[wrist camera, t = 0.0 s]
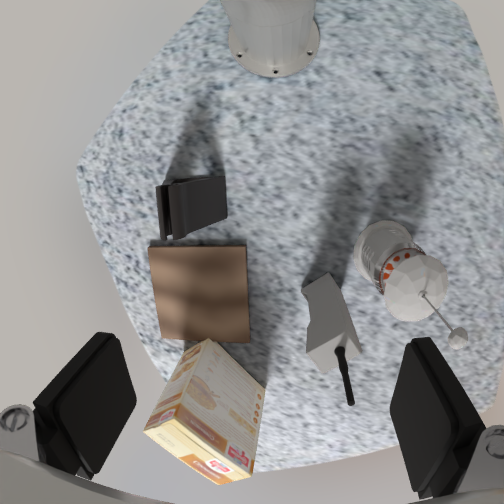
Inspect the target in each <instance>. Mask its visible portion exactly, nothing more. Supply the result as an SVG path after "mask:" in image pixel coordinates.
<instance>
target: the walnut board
mask: <svg viewBox="0 0 504 504" xmlns="http://www.w3.org/2000/svg"><path fill="white" fill-rule="evenodd" d="M148 256H149V263H150V270H151V277H152V284H153V290H154V297H155V303H156V309H157V314H158V320H159V326H160V331H161V336H162V338H166V339H179V340H194V341H204V340H206V339H208V338H209V339H210V340H212V341H213V342H235V343H250V325H249V303H248V280H247V256H246V245H190V246H149V247H148Z"/></svg>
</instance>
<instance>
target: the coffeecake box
mask: <svg viewBox="0 0 504 504" xmlns="http://www.w3.org/2000/svg"><path fill="white" fill-rule="evenodd" d="M264 397H265V389H264V388H263V387H262V386H261V385H260V384H259V383H258V382H257V381H256V380H255V379H254V378H253V377H251V376H250V375H249V374H248V373H247V372H246V371H245V370H244V369H243V368H242V367H241V366H240V365H239V364H238V363H237V362H236V361H235V360H234V359H233V358H232V357H231V356H230V355H229V354H228V353H227V352H226V351H225V350H224V349H223V348H222V347H221V346H220V345H219V344H218V343H217V342H213V341H212V340H210V339H209V338H208V339H206V340H204V341H201V342H199V343H198V344H196V345H194V346H193V347H191V348H189V349H188V350H186V351H185V352H183V355H182V357H181V359H180V361H179V362H178V364H177V366H176V368H175V370H174V372H173V374H172V376H171V378H170V380H169V381H168V383H167V385H166V387H165V389H164V391H163V393H162V395H161V397H160V399H159V401H158V403H157V405H156V407H155V409H154V410H153V412H152V414H151V416H150V418H149V420H148V422H147V424H146V427H145V428H144V430H143V432H144V433H145V434H147V435H148V436H149V437H151V438H152V439H153V440H154V441H155V442H157V443H158V444H159V445H161V446H162V447H163V448H165V449H166V450H167V451H169V452H170V453H171V454H173V455H174V456H176V457H177V458H178V459H180V460H181V461H182V462H184V463H186V464H187V465H188V466H190V467H191V468H193V469H194V470H196V471H197V472H199V473H200V474H202V475H203V476H205V477H206V478H208V479H209V480H211V481H213V482H214V483H216V484H217V485H220V484H225V483H229V482H232V481H236V480H241V479H245V478H248V477H251V476H252V473H253V467H254V461H255V455H256V449H257V443H258V436H259V430H260V424H261V417H262V410H263V404H264Z"/></svg>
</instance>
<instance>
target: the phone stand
mask: <svg viewBox="0 0 504 504" xmlns="http://www.w3.org/2000/svg"><path fill="white" fill-rule="evenodd" d="M156 197H157V208H158V218H159V228H160V237H161V239H162V240H167V236H168V235H172V234H173V240H178V239H182V238H184V237H186V235H187V234H189V233H191V232H193V231H196V230H198V229H201V228H203V227H206V226H208V225H211V224H213V223H216V222H219V221H221V220H224V219H226V218H227V208H226V191H225V176H217V177H201V178H186V179H173V180H164V182H163V184H162V185H160V186H156Z"/></svg>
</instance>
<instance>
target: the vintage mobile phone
mask: <svg viewBox="0 0 504 504" xmlns="http://www.w3.org/2000/svg"><path fill="white" fill-rule="evenodd" d="M301 293H302V294H303V296H304V297H305V299H306V300H307V301H308V304H309V312H310V320H311V321H310V323H309V325H308V327H307V344H306V353H307V355H308V356H309V357H310V359H311V360H312V361H313V362H314V364H315V365H316V366H317V368H318V369H319V370H320V371H321V373H322V374H324V373H326V372H328V371H330V370H332V369H334V368H336V367H338V366H339V369H340V372H341V374H342V377H343V382H344V387H345V392H346V397H347V402H348V405H349V406H352V405H354V404H355V401H354V397H353V392H352V388H351V383H350V379H349V375H348V365H347V361H349V360H350V359H352V358H354V357H356V356H358V355H359V354H361V353H362V348H361V345H360V343H359V340H358V337H357V334H356V331H355V328H354V325H353V322H352V320H351V317H350V314H349V311H348V308H347V306H346V303H345V300H344V297H343V295H342V292H341V290H340V288H339V287H338V285H337V284H336V282H335V281H334V279H333V278H332V276H331V275H330V273H329V272H328V273H326V274H325V275H323V276H322V277H320V278H318V279H317V280H315V281H314V282H312V283H310V284H309V285H307V286H306V287H304V288H302V289H301Z"/></svg>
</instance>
